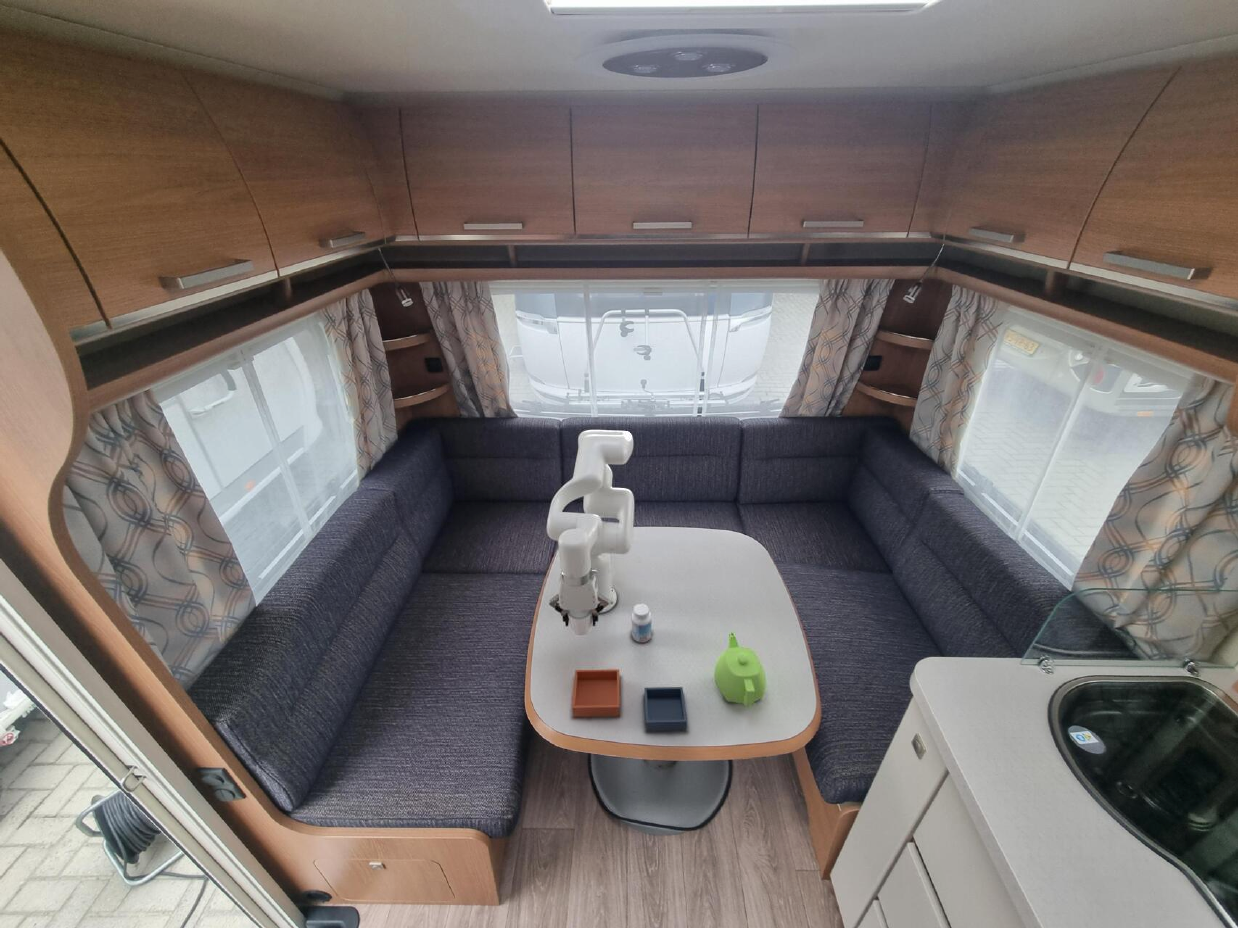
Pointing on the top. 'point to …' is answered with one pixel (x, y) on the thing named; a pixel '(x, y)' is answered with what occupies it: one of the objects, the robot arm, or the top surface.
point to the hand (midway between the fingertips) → (580, 621)
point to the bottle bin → (665, 709)
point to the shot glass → (580, 621)
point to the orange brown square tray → (596, 693)
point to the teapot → (740, 674)
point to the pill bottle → (641, 623)
